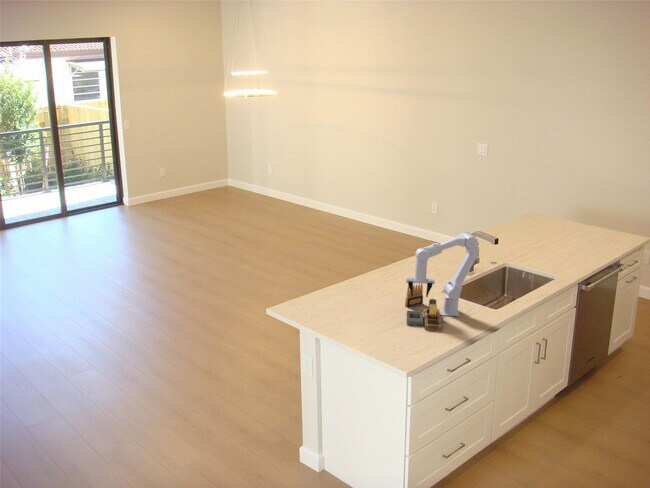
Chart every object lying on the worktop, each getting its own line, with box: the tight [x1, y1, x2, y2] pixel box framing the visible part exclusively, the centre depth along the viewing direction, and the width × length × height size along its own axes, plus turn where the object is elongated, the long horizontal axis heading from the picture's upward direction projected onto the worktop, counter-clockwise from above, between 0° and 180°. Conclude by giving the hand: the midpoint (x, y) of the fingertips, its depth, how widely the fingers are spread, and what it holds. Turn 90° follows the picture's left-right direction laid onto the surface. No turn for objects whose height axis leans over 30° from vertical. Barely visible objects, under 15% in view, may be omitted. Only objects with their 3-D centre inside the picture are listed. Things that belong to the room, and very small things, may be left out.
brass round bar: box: [429, 303, 438, 319], centre depth 365 cm, size 4×4×9 cm
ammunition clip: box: [404, 283, 424, 308], centre depth 384 cm, size 11×2×12 cm, turn 121°
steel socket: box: [406, 310, 424, 327], centre depth 367 cm, size 12×8×2 cm, turn 174°
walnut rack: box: [423, 307, 442, 332], centre depth 366 cm, size 21×8×2 cm, turn 174°
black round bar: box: [428, 298, 437, 314], centre depth 371 cm, size 4×4×9 cm
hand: (419, 295), depth 371 cm, fingers open, 7 cm apart
